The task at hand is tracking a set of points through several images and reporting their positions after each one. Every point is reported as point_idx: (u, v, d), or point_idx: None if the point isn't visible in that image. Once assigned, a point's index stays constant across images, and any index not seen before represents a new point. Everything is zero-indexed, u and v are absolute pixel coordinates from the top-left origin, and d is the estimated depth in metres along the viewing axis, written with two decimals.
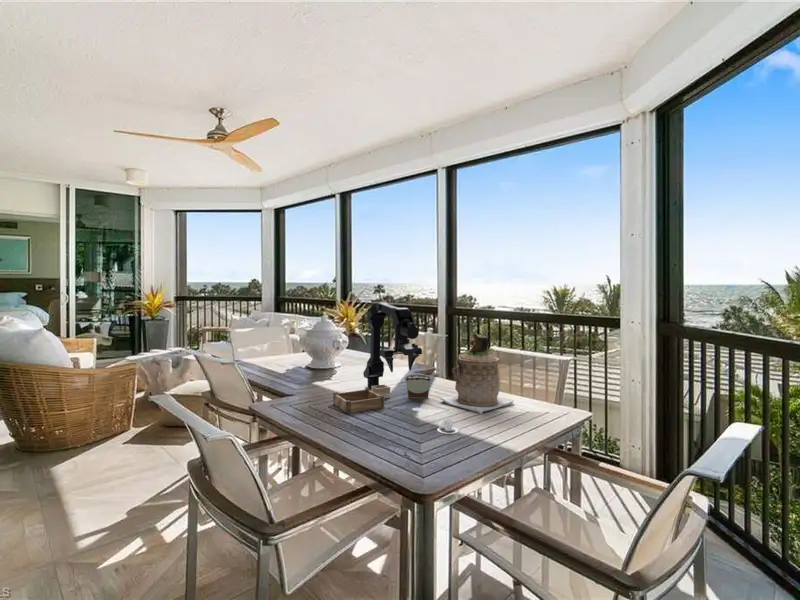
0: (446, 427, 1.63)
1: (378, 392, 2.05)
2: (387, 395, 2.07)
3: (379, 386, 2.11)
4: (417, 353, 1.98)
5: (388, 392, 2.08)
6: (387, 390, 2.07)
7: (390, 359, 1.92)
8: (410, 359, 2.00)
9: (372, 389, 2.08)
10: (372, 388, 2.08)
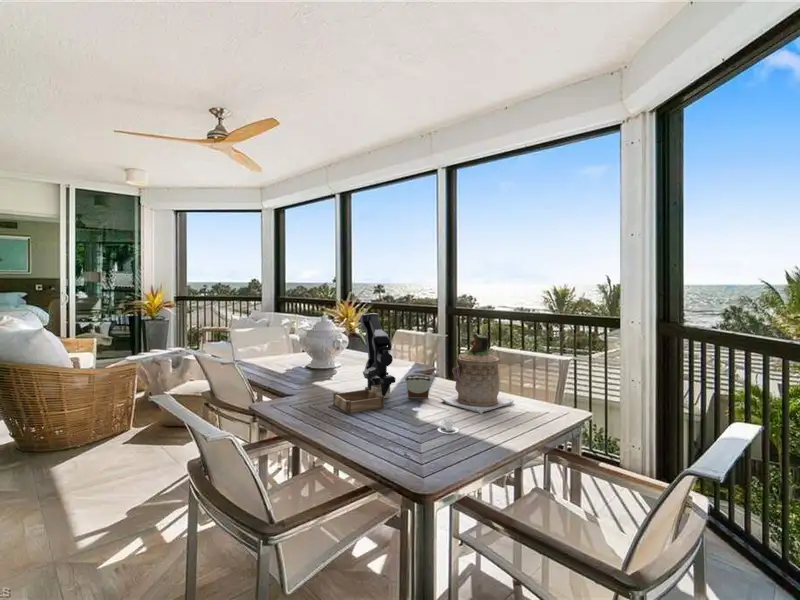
0: (446, 427, 1.63)
1: (378, 392, 2.05)
2: (387, 395, 2.07)
3: (379, 386, 2.11)
4: (381, 381, 2.01)
5: (388, 392, 2.08)
6: None
7: (371, 379, 2.12)
8: None
9: (372, 389, 2.08)
10: (372, 388, 2.08)
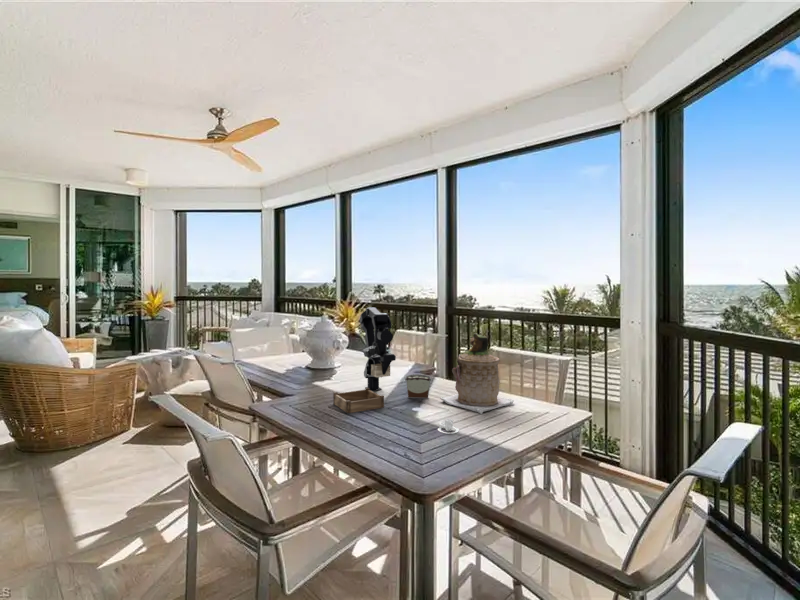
0: (447, 427, 1.63)
1: (378, 370, 2.04)
2: (387, 373, 2.07)
3: (379, 365, 2.10)
4: (381, 359, 2.01)
5: (388, 370, 2.07)
6: None
7: (371, 358, 2.11)
8: None
9: (372, 367, 2.08)
10: (372, 366, 2.08)
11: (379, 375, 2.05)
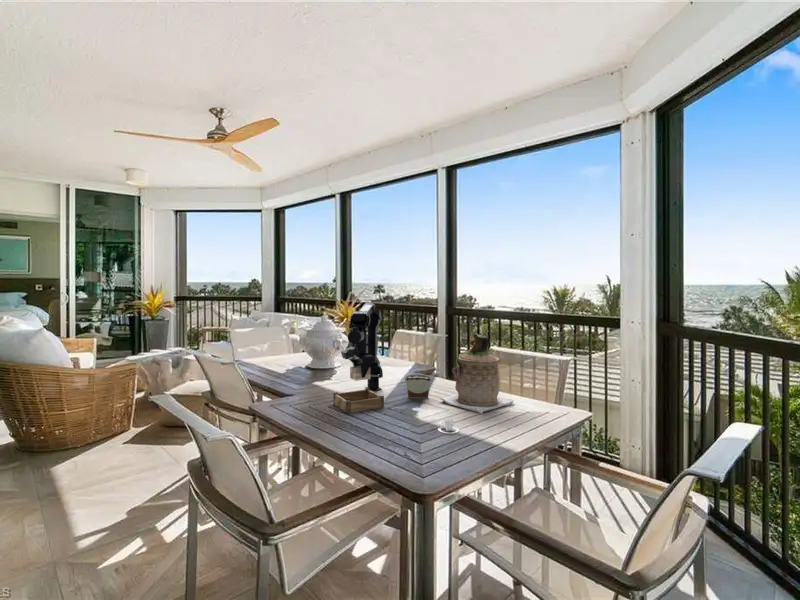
0: (447, 427, 1.63)
1: (357, 373, 1.91)
2: (367, 376, 1.93)
3: (359, 367, 1.97)
4: (360, 361, 1.87)
5: (368, 373, 1.93)
6: (367, 371, 1.93)
7: (350, 360, 1.98)
8: None
9: (351, 370, 1.94)
10: (351, 369, 1.94)
11: (358, 378, 1.91)
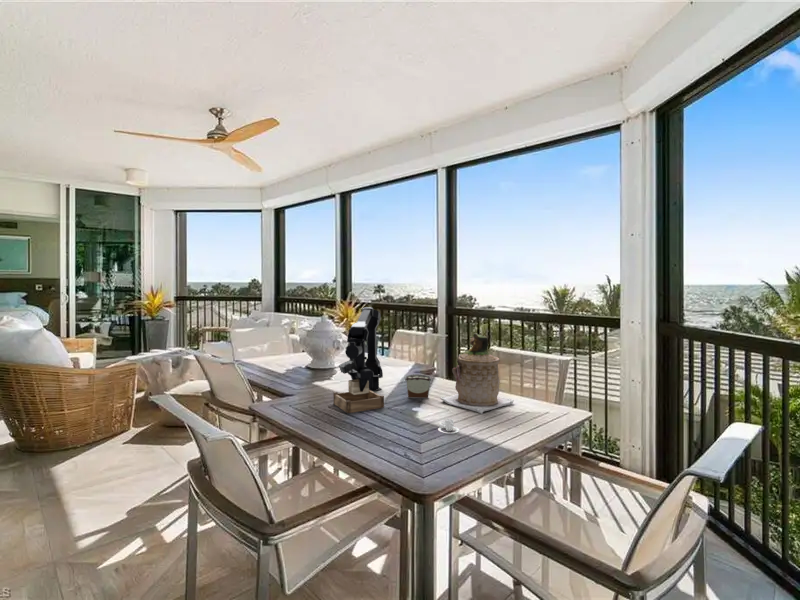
0: (447, 427, 1.63)
1: (355, 387, 1.90)
2: (365, 390, 1.93)
3: (357, 380, 1.96)
4: (358, 375, 1.87)
5: (366, 387, 1.93)
6: None
7: None
8: None
9: (349, 384, 1.94)
10: (349, 382, 1.94)
11: (356, 392, 1.91)
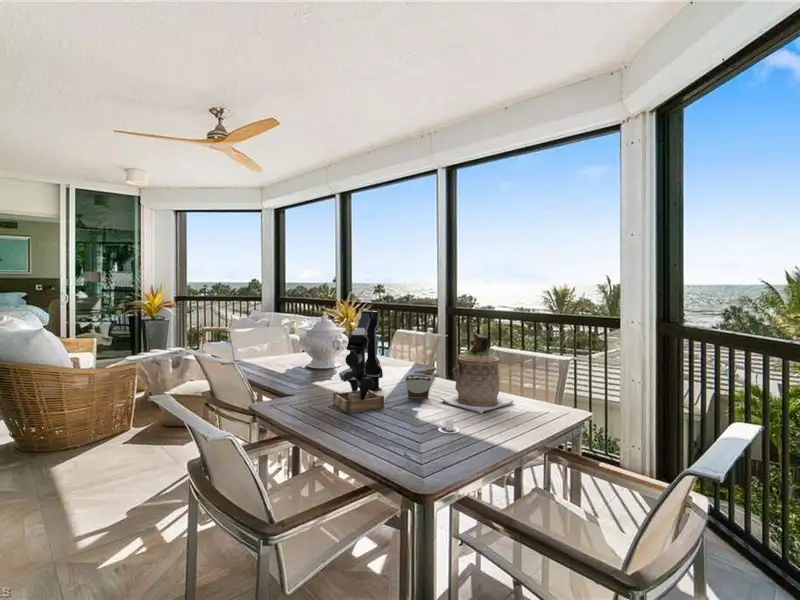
0: (447, 427, 1.63)
1: (355, 398, 1.91)
2: None
3: (357, 392, 1.97)
4: (358, 383, 1.87)
5: (366, 398, 1.93)
6: (365, 396, 1.93)
7: (348, 381, 1.98)
8: None
9: (349, 395, 1.94)
10: (349, 394, 1.94)
11: None
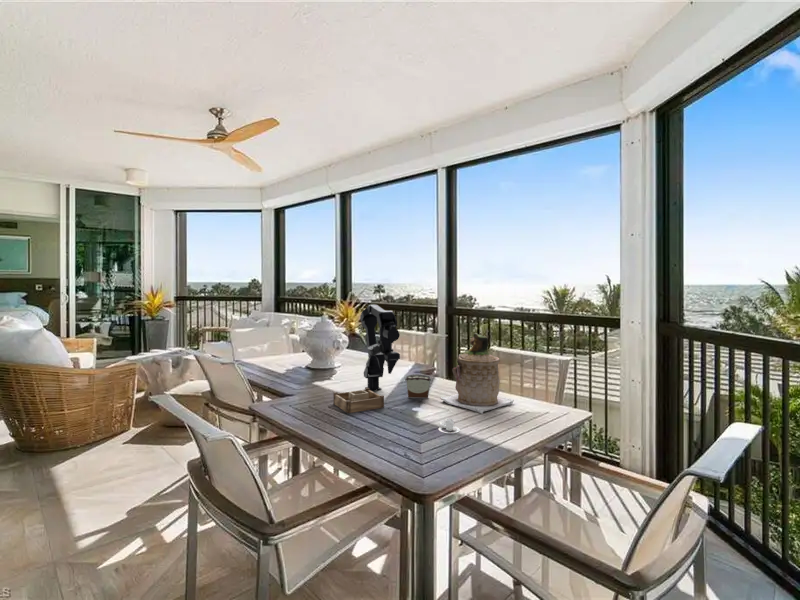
0: (447, 427, 1.63)
1: (355, 398, 1.91)
2: None
3: (357, 392, 1.97)
4: (385, 357, 1.98)
5: (366, 398, 1.93)
6: (365, 396, 1.93)
7: (375, 356, 2.10)
8: None
9: (349, 395, 1.94)
10: (349, 394, 1.94)
11: None
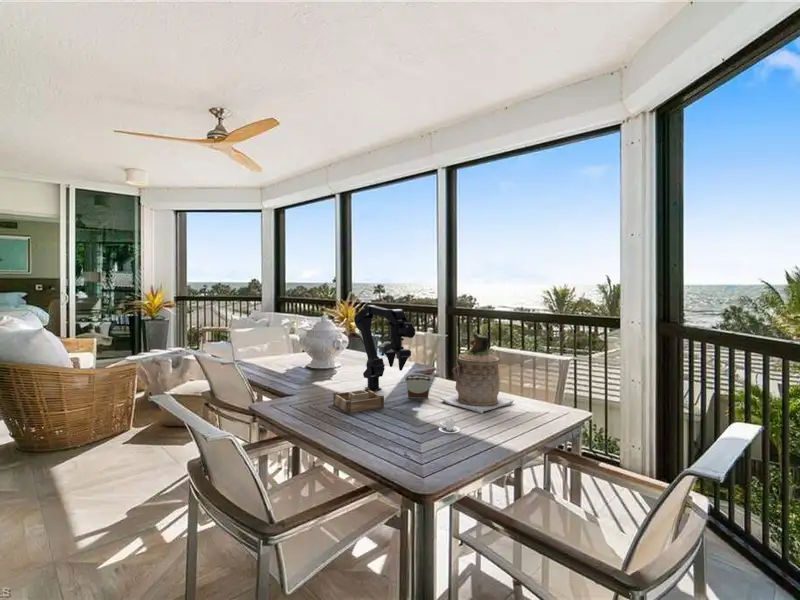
0: (448, 426, 1.64)
1: (355, 398, 1.91)
2: None
3: (357, 392, 1.97)
4: (397, 354, 2.02)
5: (366, 398, 1.93)
6: (365, 396, 1.93)
7: (385, 353, 2.14)
8: None
9: (349, 395, 1.94)
10: (349, 394, 1.94)
11: None
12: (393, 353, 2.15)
